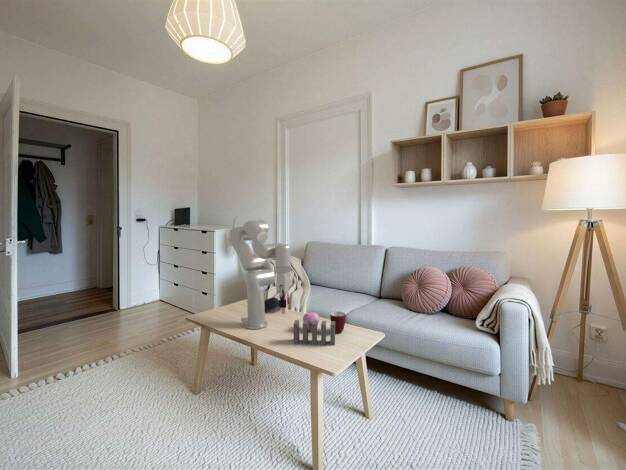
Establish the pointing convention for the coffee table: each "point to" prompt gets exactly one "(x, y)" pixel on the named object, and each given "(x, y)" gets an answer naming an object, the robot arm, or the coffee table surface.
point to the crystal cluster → (272, 305)
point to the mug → (338, 321)
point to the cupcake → (311, 319)
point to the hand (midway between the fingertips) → (284, 305)
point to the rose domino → (284, 310)
